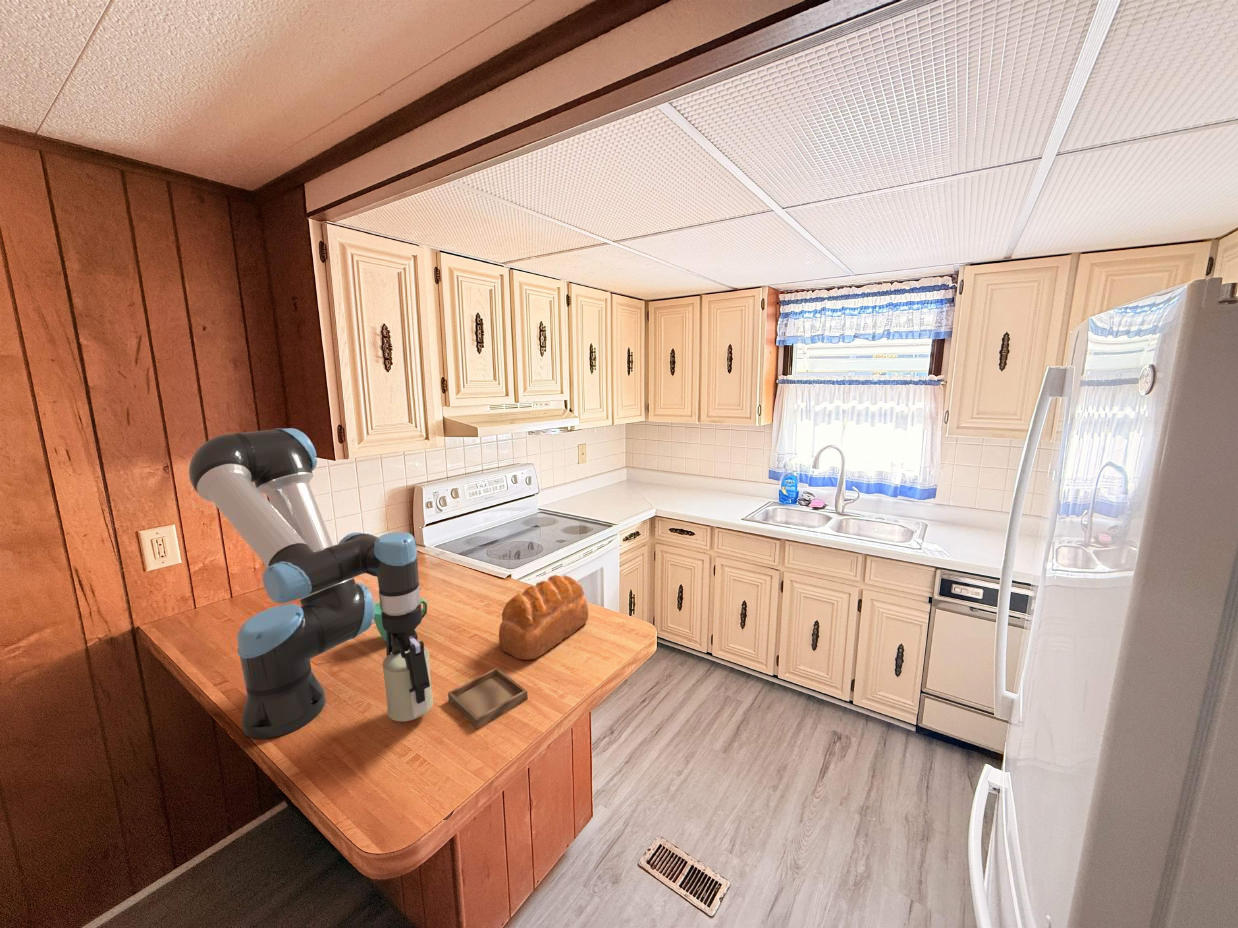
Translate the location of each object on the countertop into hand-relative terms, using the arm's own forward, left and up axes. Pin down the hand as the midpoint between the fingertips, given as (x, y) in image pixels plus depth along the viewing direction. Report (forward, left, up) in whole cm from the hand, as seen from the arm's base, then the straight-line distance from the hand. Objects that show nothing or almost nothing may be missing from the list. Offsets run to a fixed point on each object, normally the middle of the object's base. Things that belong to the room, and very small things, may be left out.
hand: (410, 701), depth 104 cm
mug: (+12, +34, -4) cm, 37 cm away
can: (0, 0, -1) cm, 1 cm away
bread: (+40, +5, -4) cm, 41 cm away
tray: (+14, -8, -3) cm, 17 cm away
